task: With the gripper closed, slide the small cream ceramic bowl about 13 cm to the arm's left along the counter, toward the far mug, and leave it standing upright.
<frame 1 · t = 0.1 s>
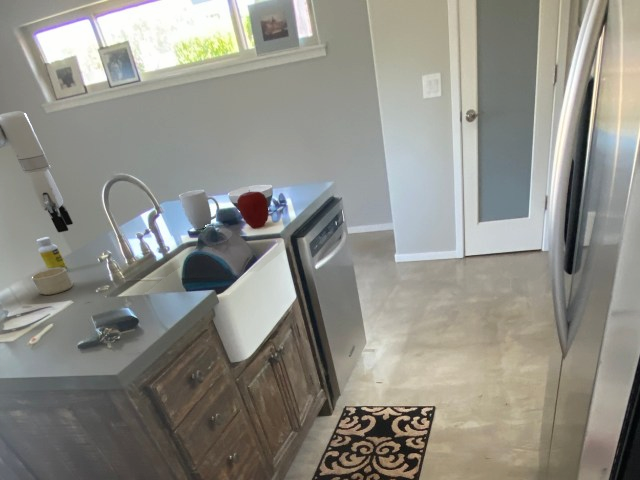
hand: (65, 228, 164), 18 cm above the worktop, tool pointing down, fingers open, 9 cm apart
mug: (205, 227, 224), on the worktop
small bowl: (57, 289, 179), on the worktop
apple: (258, 227, 212), on the worktop
pill bottle: (60, 272, 197), on the worktop
bowl: (256, 215, 230), on the worktop
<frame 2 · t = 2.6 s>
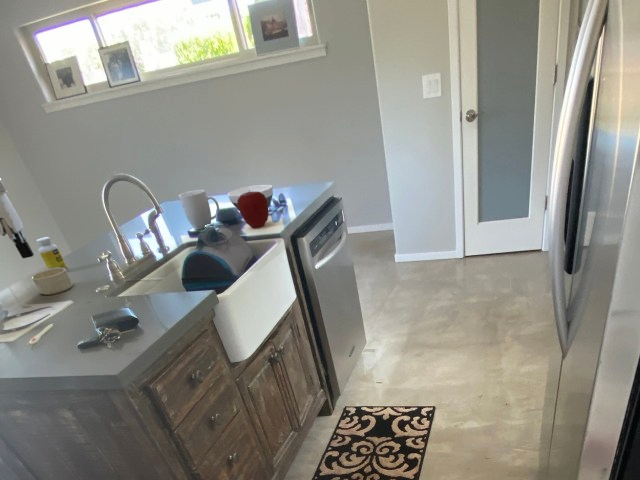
hand: (28, 256, 161), 14 cm above the worktop, tool pointing down, fingers closed
nothing on the worktop moved.
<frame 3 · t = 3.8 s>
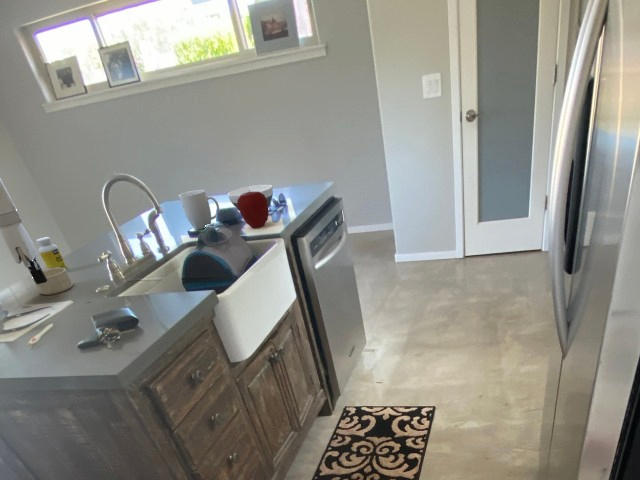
hand: (42, 282, 167), 6 cm above the worktop, tool pointing down, fingers closed
nothing on the worktop moved.
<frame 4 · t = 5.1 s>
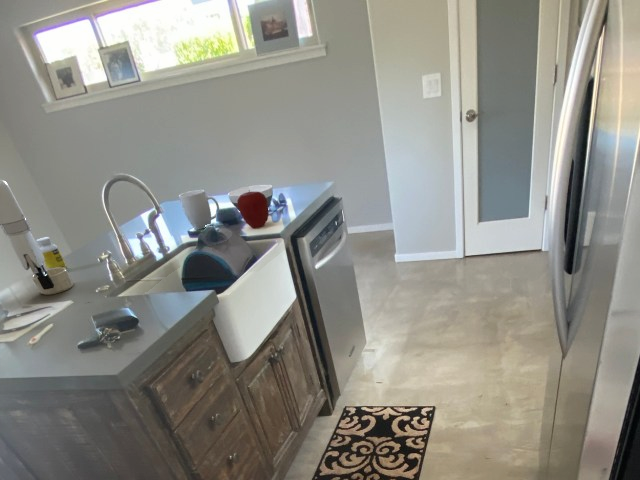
hand: (49, 288, 172), 3 cm above the worktop, tool pointing down, fingers closed
small bowl: (57, 289, 179), on the worktop, touching gripper
everything else where it was.
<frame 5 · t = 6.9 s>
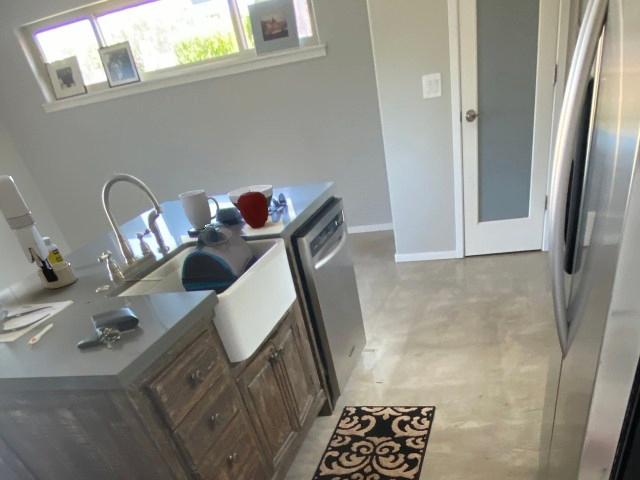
hand: (53, 281, 177), 3 cm above the worktop, tool pointing down, fingers closed
small bowl: (61, 283, 184), on the worktop, touching gripper
everything else where it was.
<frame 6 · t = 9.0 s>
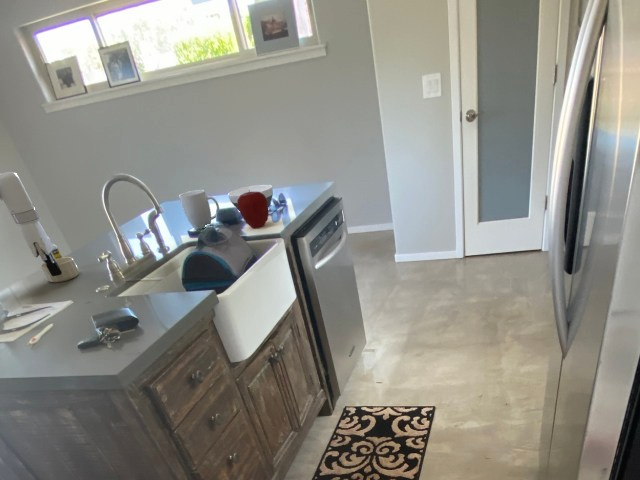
hand: (57, 274, 182), 3 cm above the worktop, tool pointing down, fingers closed
small bowl: (64, 277, 190), on the worktop, touching gripper
everything else where it was.
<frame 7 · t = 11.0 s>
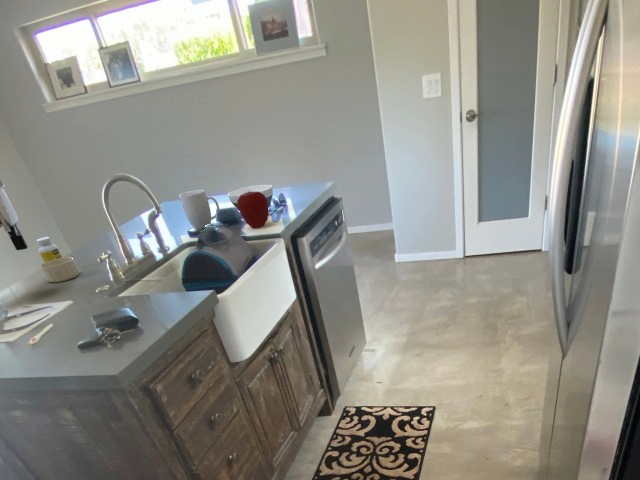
hand: (22, 248, 168), 14 cm above the worktop, tool pointing down, fingers closed
small bowl: (64, 277, 190), on the worktop
everything else where it was.
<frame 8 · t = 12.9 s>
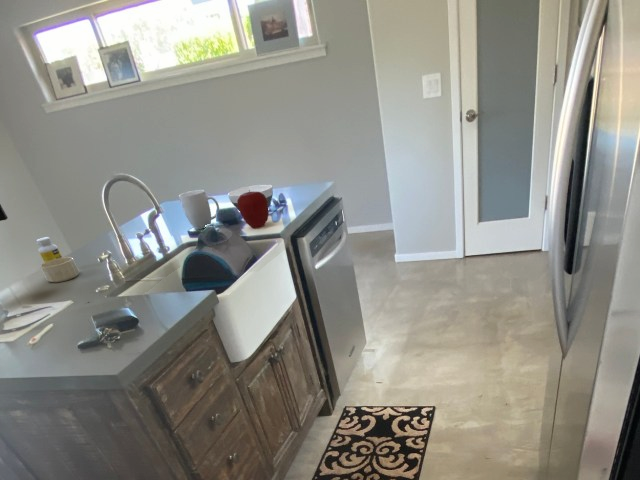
hand: (2, 219, 161), 23 cm above the worktop, tool pointing down, fingers closed
nothing on the worktop moved.
at the end: small bowl moved 14.5 cm from its start; small bowl tilted 0° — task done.
